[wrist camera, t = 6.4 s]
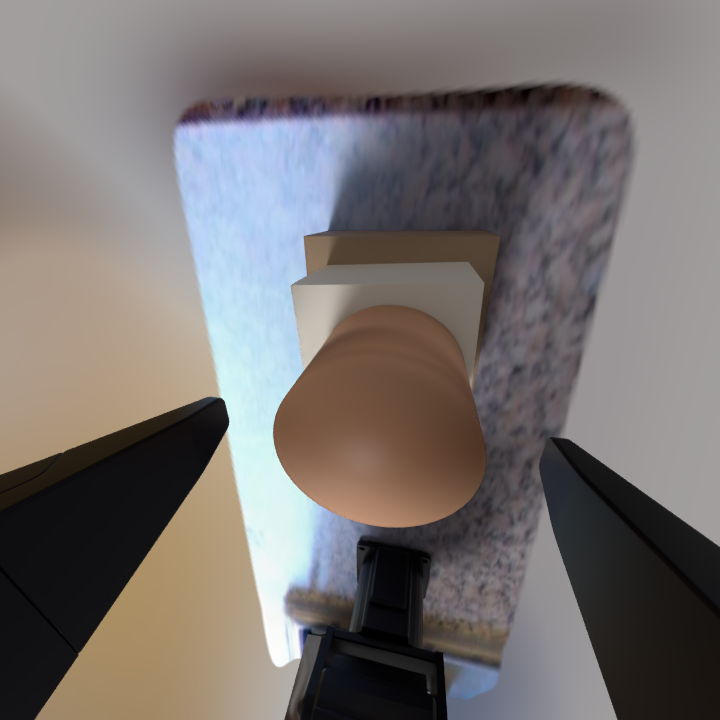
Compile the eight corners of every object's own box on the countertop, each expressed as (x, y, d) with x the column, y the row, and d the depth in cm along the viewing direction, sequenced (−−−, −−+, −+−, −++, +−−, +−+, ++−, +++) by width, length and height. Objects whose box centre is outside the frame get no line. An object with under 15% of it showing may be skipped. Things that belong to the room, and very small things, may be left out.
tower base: (462, 370, 19) (469, 408, 15) (337, 360, 20) (317, 392, 17) (483, 230, 15) (500, 236, 12) (330, 230, 17) (303, 236, 13)
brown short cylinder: (455, 437, 11) (469, 541, 8) (327, 423, 12) (287, 511, 9) (475, 307, 9) (507, 373, 6) (316, 302, 10) (256, 355, 6)
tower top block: (455, 388, 15) (464, 444, 11) (338, 382, 16) (313, 430, 13) (468, 261, 12) (484, 283, 9) (326, 265, 13) (290, 285, 10)
